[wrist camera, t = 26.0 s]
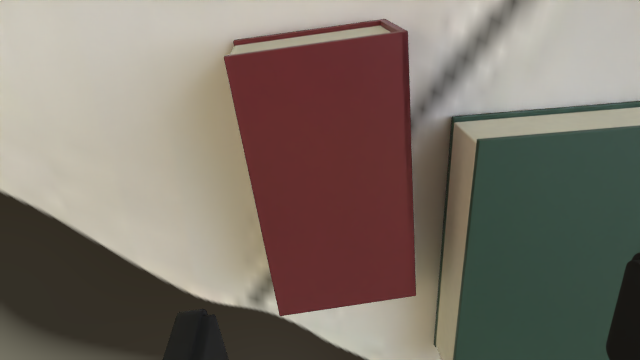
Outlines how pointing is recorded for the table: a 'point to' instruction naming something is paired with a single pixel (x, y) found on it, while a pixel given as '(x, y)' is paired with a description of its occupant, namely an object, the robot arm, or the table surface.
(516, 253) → the green book
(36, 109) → the table surface
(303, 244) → the burgundy book
